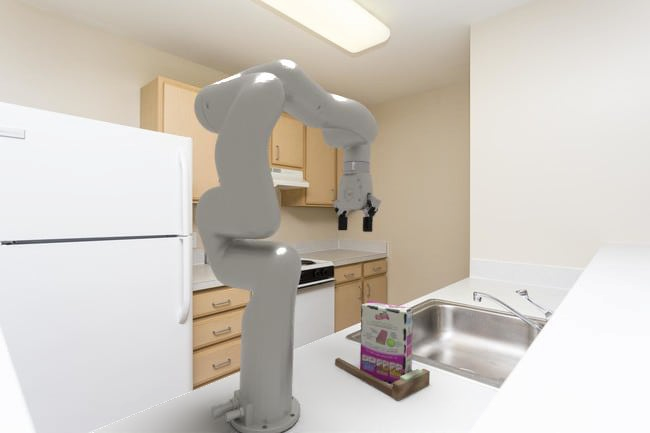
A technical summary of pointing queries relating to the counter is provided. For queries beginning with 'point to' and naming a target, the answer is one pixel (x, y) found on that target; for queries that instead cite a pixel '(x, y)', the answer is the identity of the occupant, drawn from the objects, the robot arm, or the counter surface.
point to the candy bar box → (386, 340)
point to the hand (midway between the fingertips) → (354, 231)
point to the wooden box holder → (398, 389)
